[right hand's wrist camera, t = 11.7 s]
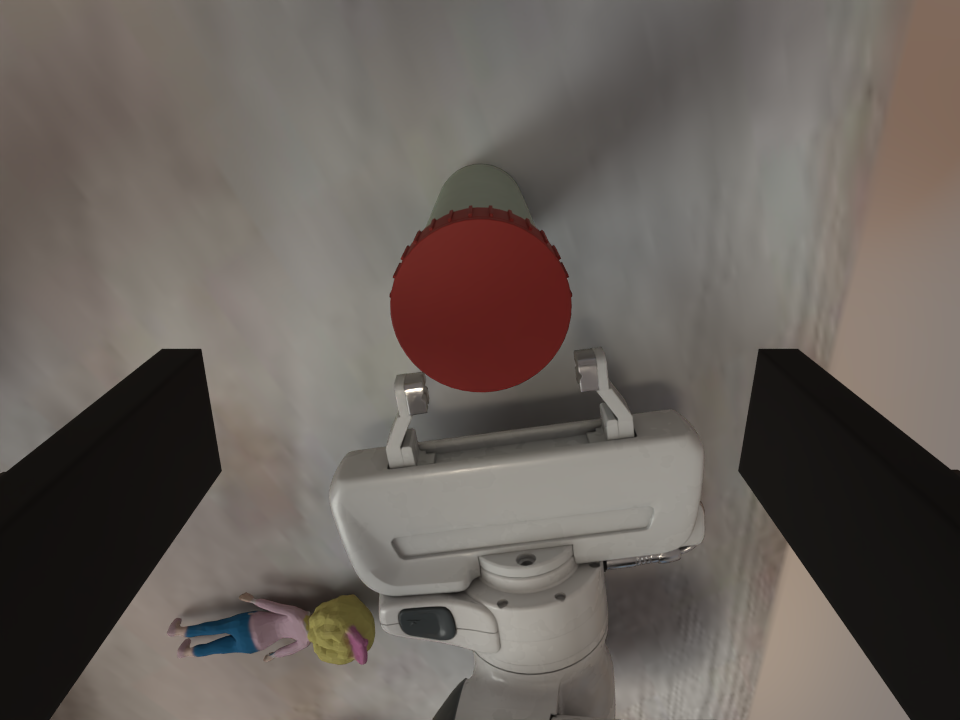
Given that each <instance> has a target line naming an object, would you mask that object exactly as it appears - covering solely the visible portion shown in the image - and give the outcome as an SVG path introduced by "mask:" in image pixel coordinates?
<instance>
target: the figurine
mask: <svg viewBox="0 0 960 720" xmlns="http://www.w3.org/2000/svg"><path fill="white" fill-rule="evenodd" d="M239 599H240V600H242V601H246V602H250V603H254V604H255V605H257V606H258V607H260V608H263V609H266V610H269V611H271V612H263V611H252V612H246V613H241V614H238V615H235V616H232V617H230V618H225V619H221V620H218V621H211V622H205V623H201V624H198V625H193V626H187V627H180V624H181V618H176V619H175V620H174V621H173V622H172V623H171V625H170V627H169V629H168V632H167V634H168V635H169V636H177V635H180V636H183V637H195V636H201V635H215V634H222V633H228V634H231V635H229V636H225V637H222V638H219V639H217V640H215V641H212V642H210V643H207V644H199V645H196V646H194V647H192V648H190V643H191V640H190V639H185V641H184V642H183V643H182V644H181V646H180V647H179V648H178V654H177V656H178V658H183V657H187V656H193V657H201V656H207V655H211V654H220V653H221V654H225V653H233V652H242V653H249V654H251V653H254V652H258V651H261V650H264V649H265V648H267V647H268V646H270V645H271V644H273V643H275V642H276V641H278V640H279V639H282V638H293V639H295V640H297V641H296V642H294V643H292V644H290V645H287V646H284V647H282V648H279V649H278V650H277V651H275V652H271V653H269V655H266V656H265V658H264V661H265V662H268V661H271V660H272V659H274V658H275V657H283V656H286V655H291V654H294V653H296V652H298V651H300V650H302V649H304V648H306V647H307V646H308V645H309V644H310V643H311V642H312V643H313V647H314V652H315V653H316V654H317V655H318V657H319V659H320V660H322V661H324V662H328V663H333V664H338V665H342V664H347V663H349V662H352V661H353V660H356V661H357V662H359V663H360V664H361V665H362V664H365V663H366V662H367V656H368V655H367V651H368V650H369V649H370V648H371V646H372V644H373V642H374V638H375V624H374V618H373V616H372V614H371V612H370V611H369V609H368V608H366V606H365V605H364V604H363V603H362V602H361V601H360V600H359V599H358V598H357V597H356V596H355V595H354V594H352V595H348V596H346V595H341V596H339V597H338V598H335V599H332V600H330V601H328V602H323V603H321V604H320V605H319V606H318V607H316V609H315V611H314V613H313V614H312V615H311V613H310V612H309V611H304V610H302V609H300V608H298V607H296V606H291V605H285V604H280V603H276V602H273V601H270V600H266V599H255V598H254V597H253V596H252V595H250V594H249V593H245V594H242V595H241V596H239Z"/></svg>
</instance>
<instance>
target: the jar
mask: <svg viewBox="0 0 960 720" xmlns="http://www.w3.org/2000/svg"><path fill="white" fill-rule="evenodd" d="M471 205H472V207H473V208H475V207H486V208H489V205H491V206H492V207H493V208H495V209H500V210H504V211H507V212H508V210H512V213H513V214H515V215H517V216H519V217H521V218H523V219H526V218H528V219H529V220H530V223H531V224H532V225H533V226H534V227H536V226H535V224H534V222H533V219H532V217H531V215H530V213H529V210H528V208H527V206H526V203H525V201H524V199H523V196H522V194H521V192H520V189H519V187H518V186H517V184H516V183H515V181H514V180H513V179H512V178H511V176H509V175H508V174H507V173H506V172H504V171H503V170H501V169H499V168H497V167H494V166H491V165H486V164H475V165H470V166H467V167H464V168H462V169H460V170H458V171H457V172H455V173H454V174H453V175H452V176H451V177H450V178H449V179H448V180H447V181H446V182H445V184H444V186H443V187H442V190H441V192H440V194H439V197H438V199H437V201H436V204H435V206H434V209H433V211H432V213H431V216H430V218H429V221H428V223H427V225H426V227H427V226H429V225H430V224H431V221H432V220H433V219H434V218H435V219H436V220H437V219H439V218H441V217H443V216H444V215H447V214H449V211H450V210H453V211H458V210H462V209H466V208H469V206H471Z"/></svg>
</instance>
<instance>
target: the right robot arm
mask: <svg viewBox="0 0 960 720" xmlns="http://www.w3.org/2000/svg"><path fill="white" fill-rule="evenodd" d="M221 471H222V470H221V464H220V458H219V452H218V446H217V440H216V434H215V428H214V422H213V416H212V410H211V404H210V398H209V392H208V386H207V380H206V374H205V368H204V362H203V356H202V350H201V349H161V350H160V351H159V352H158V353H156V354H155V355H154V356H152V357H151V358H150V359H149V360H147V361H146V362H145V363H144V364H142V365H141V366H140V367H139V368H137V369H136V370H135V371H133V372H132V373H131V374H130V375H128V376H127V377H126V378H125V379H123V380H122V381H121V382H120V383H118V384H117V385H116V386H114V387H113V388H112V389H111V390H109V391H108V392H107V393H106V394H104V395H103V396H102V397H101V398H99V399H98V400H97V401H95V402H94V403H93V404H92V405H90V406H89V407H88V408H87V409H85V410H84V411H83V412H82V413H80V414H79V415H78V416H76V417H75V418H74V419H73V420H71V421H70V422H69V423H68V424H66V425H65V426H64V427H63V428H61V429H60V430H59V431H57V432H56V433H55V434H54V435H52V436H51V437H50V438H49V439H47V440H46V441H45V442H44V443H42V444H41V445H40V446H38V447H37V448H36V449H35V450H33V451H32V452H31V453H30V454H28V455H27V456H26V457H25V458H23V459H22V460H21V461H19V462H18V463H17V464H16V465H14V466H13V467H12V468H11V469H9V470H8V471H7V472H2V473H0V720H50V718H51V717H52V715H53V714H54V712H55V711H56V709H57V708H58V707H59V705H60V704H61V702H62V701H63V699H64V698H65V696H66V695H67V694H68V692H69V691H70V689H71V688H72V686H73V685H74V683H75V682H76V681H77V679H78V678H79V676H80V675H81V673H82V672H83V670H84V669H85V668H86V666H87V665H88V663H89V662H90V660H91V659H92V657H93V656H94V655H95V653H96V652H97V650H98V649H99V647H100V646H101V644H102V643H103V642H104V640H105V639H106V637H107V636H108V634H109V633H110V631H111V630H112V629H113V627H114V626H115V624H116V623H117V621H118V620H119V618H120V617H121V616H122V614H123V613H124V611H125V610H126V608H127V607H128V605H129V604H130V603H131V601H132V600H133V598H134V597H135V595H136V594H137V593H138V591H139V590H140V588H141V587H142V585H143V584H144V582H145V581H146V580H147V578H148V577H149V575H150V574H151V572H152V571H153V569H154V568H155V567H156V565H157V564H158V562H159V561H160V559H161V558H162V556H163V555H164V554H165V552H166V551H167V549H168V548H169V546H170V545H171V543H172V542H173V541H174V539H175V538H176V536H177V535H178V533H179V532H180V530H181V529H182V528H183V526H184V525H185V523H186V522H187V520H188V519H189V517H190V516H191V515H192V513H193V512H194V510H195V509H196V507H197V506H198V504H199V503H200V502H201V500H202V499H203V497H204V496H205V494H206V493H207V491H208V490H209V489H210V487H211V486H212V484H213V483H214V481H215V480H216V478H217V477H218V476H219V474H220V473H221ZM738 471H739V473H740V474H741V476H742V477H743V478H744V480H745V481H746V483H747V484H748V486H749V487H750V489H751V490H752V491H753V493H754V494H755V496H756V497H757V499H758V500H759V502H760V503H761V504H762V506H763V507H764V509H765V510H766V512H767V513H768V515H769V516H770V517H771V519H772V520H773V522H774V523H775V525H776V526H777V528H778V529H779V530H780V532H781V533H782V535H783V536H784V538H785V539H786V541H787V542H788V543H789V545H790V546H791V548H792V549H793V551H794V552H795V554H796V555H797V556H798V558H799V559H800V561H801V562H802V564H803V565H804V566H805V568H806V569H807V571H808V572H809V574H810V575H811V577H812V578H813V580H814V581H815V582H816V584H817V585H818V587H819V588H820V590H821V591H822V592H823V594H824V595H825V597H826V598H827V600H828V601H829V603H830V604H831V605H832V607H833V608H834V610H835V611H836V613H837V614H838V616H839V617H840V618H841V620H842V621H843V623H844V624H845V626H846V627H847V629H848V630H849V631H850V633H851V634H852V636H853V637H854V639H855V640H856V642H857V643H858V644H859V646H860V647H861V649H862V650H863V652H864V653H865V655H866V656H867V657H868V659H869V660H870V662H871V663H872V665H873V666H874V668H875V669H876V670H877V672H878V673H879V675H880V676H881V678H882V679H883V681H884V682H885V683H886V685H887V686H888V688H889V689H890V691H891V692H892V694H893V695H894V696H895V698H896V699H897V701H898V702H899V704H900V705H901V707H902V708H903V709H904V711H905V712H906V714H907V715H908V717H909V718H910V720H960V471H959V470H951V469H949V468H948V467H947V466H946V465H944V464H943V463H942V462H941V461H939V460H938V459H937V458H935V457H934V456H933V455H932V454H930V453H929V452H928V451H927V450H925V449H924V448H923V447H922V446H920V445H919V444H918V443H916V442H915V441H914V440H913V439H911V438H910V437H909V436H908V435H906V434H905V433H904V432H903V431H901V430H900V429H899V428H897V427H896V426H895V425H894V424H892V423H891V422H890V421H889V420H887V419H886V418H885V417H883V416H882V415H881V414H880V413H878V412H877V411H876V410H875V409H873V408H872V407H871V406H870V405H868V404H867V403H866V402H864V401H863V400H862V399H861V398H859V397H858V396H857V395H856V394H854V393H853V392H852V391H851V390H849V389H848V388H847V387H846V386H844V385H843V384H842V383H840V382H839V381H838V380H837V379H835V378H834V377H833V376H832V375H830V374H829V373H828V372H827V371H825V370H824V369H823V368H821V367H820V366H819V365H818V364H816V363H815V362H814V361H813V360H811V359H810V358H809V357H808V356H806V355H805V354H804V353H802V352H801V351H800V350H799V349H759V350H758V356H757V362H756V368H755V374H754V380H753V386H752V392H751V398H750V404H749V410H748V416H747V422H746V428H745V434H744V440H743V446H742V452H741V458H740V464H739V470H738Z"/></svg>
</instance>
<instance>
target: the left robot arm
mask: <svg viewBox="0 0 960 720" xmlns="http://www.w3.org/2000/svg"><path fill="white" fill-rule="evenodd" d="M574 360H575V363H576V367H575V372H576V379H577V382H578V384H579V388H580V391H581V392H586V391H595V390H596V391H597V392H598V394H599V395H600V396H601V397H602V399H603V400H604V401H605V403H601V404H600V414H601V418H599V419H591V420H584V421H576V422H568V423H561V424H553V425H546V426H538V427H531V428H523V429H516V430H508V431H500V432H493V433H485V434H478V435H470V436H462V437H455V438H447V439H440V440H432V441H425V442H418V441H417V437H416V432H415V429H413V428H410V429H407V428H408V425H409V423H410V420H411V418H412V415H416V414H422V413H427V411H428V404H429V393H428V388H427V387H426V386H425V383H426V377H425V373H424V372H417V373H409V374H400V375H397V376H396V379H395V383H394V384H395V395H396V400H397V405H398V409H399V410H398V413H397V415H396V418H395V420H394V423H393V425H392V428H391V431H390V434H389V438H388V442H387V446H386V447H379V448H372V449H364V450H356V451H351V452H349V453H347V454H346V456H345V457H344V458H343V460H342V461H341V463H340V465H339V466H338V468H337V470H336V472H335V474H334V476H333V479H332V482H331V486H330V491H329V501H330V506H331V510H332V514H333V517H334V520H335V523H336V526H337V530H338V532H339V535H340V538H341V540H342V543H343V545H344V548H345V550H346V553H347V555H348V557H349V560H350V562H351V564H352V566H353V568H354V570H355V572H356V574H357V575H358V577H359V578H360V579H361V581H362V582H363V583H364V584H365V585H366V586H368V587H369V588H370V589H372V590H373V591H375V592H377V593H380V594H379V619H380V624H381V626H382V628H383V630H384V631H385V632H387V633H389V634H391V635H394V636H399V637H406V638H415V639H422V640H429V641H435V642H440V643H445V644H450V645H455V646H459V647H463V648H466V649H470V650H473V653H474V658H475V665H474V672H473V675H472V677H471V678H469V679H467V678H465V679H464V680H463V681H461V682H460V683H459V684H458V686H457V687H456V688H455V689H454V690H453V691H452V693H451V694H450V695H449V697H448V698H447V699H446V701H445V702H444V704H443V705H442V706H441V708H440V709H439V711H438V712H437V713H436V715H435V716H434V718H433V720H619V719H615V711H616V707H615V681H614V670H613V663H612V659H611V655H610V653H609V650H608V648H607V646H606V644H605V640H606V636H607V631H608V606H607V595H606V585H605V575H604V572H606V570H612V569H621V568H629V567H635V566H636V565H637V566H639V565H641V564H642V565H643V564H645V563H646V564H648V563H656V562H658V563H670V562H674V561H677V560H680V559H681V554H683V553H686V552H688V551H690V550H692V549H693V548H695V547H696V546H697V545H698V544H700V543H701V542H702V541H703V538H704V534H705V514H704V507H703V504H702V502H701V501H700V499H701V492H702V484H703V473H704V448H703V444H702V442H701V440H700V438H699V436H698V434H697V432H696V431H695V429H694V428H693V426H692V425H691V424H690V423H689V422H688V421H687V420H686V419H685V418H684V417H683V416H681V415H680V414H679V413H678V412H677V411H675V410H671V409H668V410H659V411H652V412H644V413H637V414H631V412H630V410H629V408H628V406H627V404H626V401H625V399H624V398H623V397H622V396H621V394H620V393H619V392H618V391H617V389H616V388H615V387H614V385H613V384H612V383H611V382H610V380H609V379H608V370H607V361H606V356H605V353H604V351H603V349H602V347H597V348H589V349H582V350H575V351H574Z"/></svg>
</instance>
